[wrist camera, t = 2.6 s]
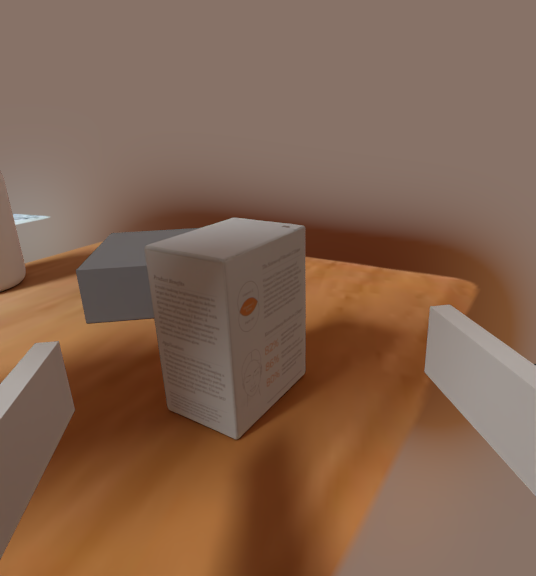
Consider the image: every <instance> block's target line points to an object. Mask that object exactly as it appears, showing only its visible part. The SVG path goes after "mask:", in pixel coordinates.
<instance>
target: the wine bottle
mask: <svg viewBox="0 0 536 576" xmlns="http://www.w3.org/2000/svg"><path fill="white" fill-rule="evenodd" d="M25 270H26V268H25V264H24V259H23V255H22V252H21V247H20V243H19V239H18V235H17V231H16V227H15V223H14V218H13V214H12V211H11V206H10V202H9V198H8V194H7V190H6V186H5V182H4V178H3V176H2V173H1V171H0V292H1V291H4V290H6V289H9V288H11V287H13V286H15V285H17V284H19V283H20V282H21V281H22V280H23V279H24V277H25V274H26V271H25Z"/></svg>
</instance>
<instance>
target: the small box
mask: <svg viewBox="0 0 536 576" xmlns="http://www.w3.org/2000/svg"><path fill="white" fill-rule="evenodd" d="M144 250H145V257H146V264H147V271H148V278H149V285H150V291H151V298H152V305H153V312H154V320H155V326H156V333H157V339H158V347H159V353H160V360H161V367H162V374H163V381H164V388H165V394H166V402H167V407H168V409H169V410H170V411H173V412H175V413H177V414H180V415H182V416H184V417H187V418H189V419H191V420H194V421H196V422H198V423H200V424H202V425H205V426H207V427H209V428H211V429H213V430H216V431H218V432H220V433H222V434H225V435H227V436H229V437H231V438H233V439H239V438H240V437H241V436H242V435H243V434H244V433H245V432H246V431H247V430H248V429H249V428H250V427H251V426H252V425H253V424H254V423H255V422H256V421H257V420H258V419H259V418H260V417H261V416H262V415H263V414H264V413H265V412H266V411H267V410H268V409H269V408H270V407H271V406H272V405H273V404H274V403H275V402H276V401H278V400H279V399H280V398H281V397H282V396H283V395H284V394H285V393H286V392H287V391H288V390H289V389H290V388H291V387H292V386H293V385H294V384H295V383H296V382H297V381H298V380H299V379H300V378H301V377H302V376H303V375H304V374H305V369H306V366H305V351H306V329H305V326H306V325H305V318H306V314H305V308H306V305H305V227H304V226H302V225H294V224H286V223H277V222H267V221H259V220H250V219H243V218H231V219H228V220H225V221H222V222H219V223H216V224H212V225H209V226H205V227H203V228H199V229H196V230H193V231H190V232H187V233H183V234H180V235H177V236H174V237H171V238H168V239H165V240H161V241H158V242H155V243H152V244H149V245H146V246H145V249H144Z"/></svg>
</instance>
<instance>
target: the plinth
mask: <svg viewBox="0 0 536 576" xmlns="http://www.w3.org/2000/svg"><path fill="white" fill-rule="evenodd" d="M196 229H199V228H193V229H177V230H160V231H142V232H127V233H126V232H125V233H112V234H110V235H109V236H108V237H107V238H106V239H105V240H104V241H103V243H102V244H101V245H100V246H99V247H98V248H97V249H96V250H95V251H94V252H93V253H92V254H91V255H90V256H89V257H88V258H87V259H86V260H85V261H84V262H83V263H82V264H81V266H80V267H79V268H78V269H77V270H76V274H77V279H78V284H79V289H80V294H81V299H82V304H83V309H84V314H85V319H86V323H97V322H109V321H122V320H134V319H147V318H154V312H153V305H152V298H151V291H150V285H149V278H148V271H147V264H146V257H145V250H144V249H145V246H146V245H149V244H152V243H155V242H158V241H161V240H165V239H168V238H171V237H174V236H177V235H180V234H183V233H187V232H190V231H193V230H196Z"/></svg>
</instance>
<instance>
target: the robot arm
mask: <svg viewBox="0 0 536 576" xmlns="http://www.w3.org/2000/svg"><path fill="white" fill-rule="evenodd" d="M424 372H425V373H426V374H427V375H428V377H429V378H430V379H431V380H432V381H433V382H434V383H435V384H436V386H437V387H438V388H439V389H440V390H441V391H442V392H443V393H444V394H445V395H446V397H447V398H448V399H449V400H450V401H451V402H452V403H453V404H454V406H455V407H456V408H457V409H458V410H459V411H460V412H461V413H462V415H463V416H464V417H465V418H466V419H467V420H468V421H469V422H470V423H471V425H472V426H473V427H474V428H475V429H476V430H477V431H478V432H479V433H480V435H481V436H482V437H483V438H484V439H485V440H486V441H487V442H488V443H489V445H490V446H491V447H492V448H493V449H494V450H495V451H496V452H497V454H498V455H499V456H500V457H501V458H502V459H503V460H504V461H505V462H506V464H507V465H508V466H509V467H510V468H511V469H512V470H513V471H514V472H515V473H516V475H517V476H518V477H519V478H520V479H521V480H522V481H523V482H524V484H525V485H526V486H527V487H528V488H529V489H530V490H531V491H532V493H533V494H534V495H535V496H536V364H533V363H531V362H530V361H528V360H527V359H526V358H524V357H523V356H521V355H520V354H519V353H517V352H516V351H514V350H513V349H512V348H510V347H509V346H507V345H506V344H505V343H503V342H502V341H500V340H499V339H498V338H496V337H495V336H493V335H492V334H490V333H489V332H488V331H486V330H485V329H483V328H482V327H481V326H479V325H478V324H476V323H475V322H474V321H472V320H471V319H469V318H468V317H467V316H465V315H464V314H462V313H461V312H460V311H458V310H457V309H455V308H454V307H453V306H451V305H441V306H430V314H429V325H428V337H427V348H426V360H425V371H424ZM74 411H75V408H74V403H73V399H72V395H71V391H70V387H69V382H68V378H67V374H66V370H65V365H64V361H63V357H62V353H61V348H60V344H59V341H56V342H45V343H35V344H34V345H33V346H32V348H31V349H30V350H29V351H28V352H27V353H26V355H25V356H24V357H23V358H22V359H21V360H20V362H19V363H18V364H17V365H16V366H15V367H14V369H13V370H12V371H11V372H10V373H9V375H8V376H7V377H6V378H5V379H4V380H3V382H2V383H1V384H0V559H1V557H2V555H3V553H4V551H5V549H6V547H7V545H8V543H9V541H10V539H11V537H12V535H13V533H14V531H15V529H16V527H17V525H18V523H19V521H20V519H21V517H22V515H23V513H24V511H25V509H26V507H27V505H28V503H29V501H30V499H31V497H32V495H33V493H34V491H35V489H36V487H37V485H38V483H39V481H40V479H41V477H42V475H43V473H44V471H45V469H46V467H47V465H48V463H49V461H50V459H51V457H52V455H53V453H54V451H55V449H56V447H57V445H58V443H59V441H60V439H61V437H62V435H63V433H64V431H65V429H66V427H67V425H68V423H69V421H70V419H71V417H72V415H73V413H74Z"/></svg>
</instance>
